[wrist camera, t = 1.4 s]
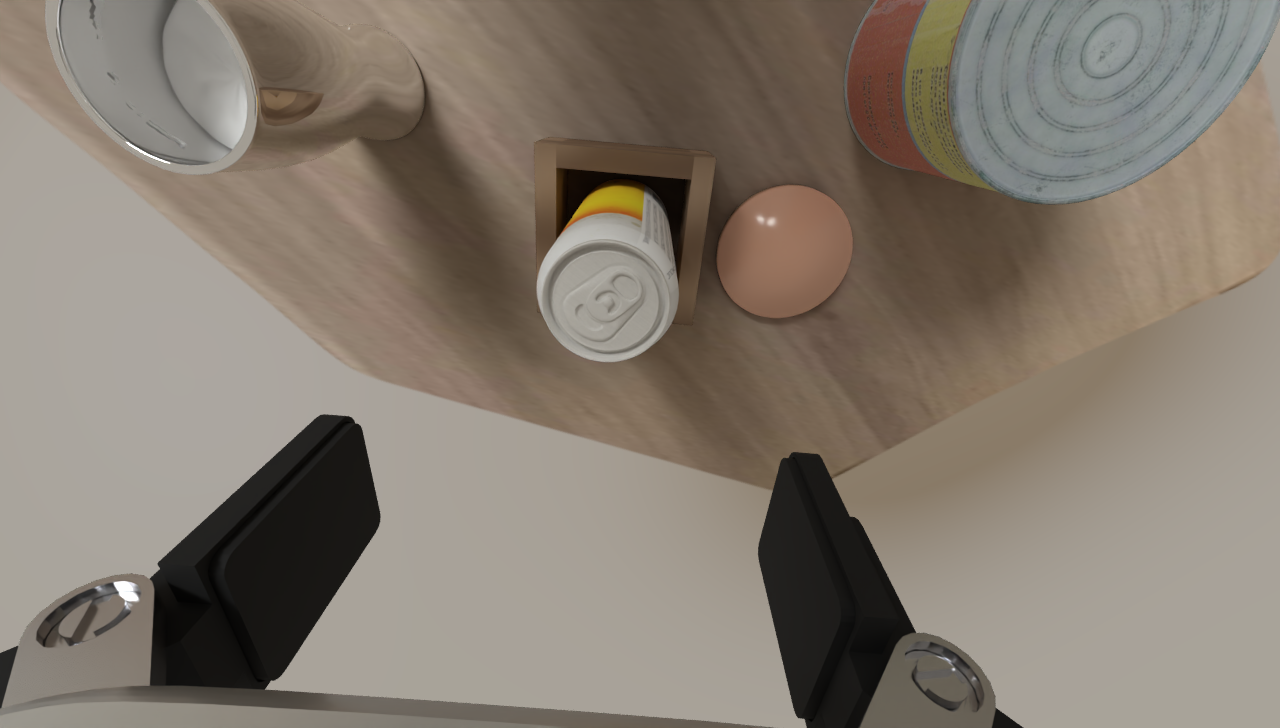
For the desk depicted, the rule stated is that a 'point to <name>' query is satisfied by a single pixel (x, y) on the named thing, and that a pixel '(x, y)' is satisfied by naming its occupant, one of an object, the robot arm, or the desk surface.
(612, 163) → the can holder
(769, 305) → the peach flat disc
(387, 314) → the desk surface
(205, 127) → the beer glass
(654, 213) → the beer can
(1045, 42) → the canned food
